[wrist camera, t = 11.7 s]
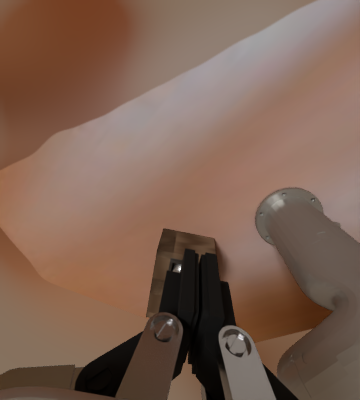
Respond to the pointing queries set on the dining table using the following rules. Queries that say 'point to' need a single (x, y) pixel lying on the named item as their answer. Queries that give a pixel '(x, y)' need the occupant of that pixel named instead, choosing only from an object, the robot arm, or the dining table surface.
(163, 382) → the robot arm
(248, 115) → the dining table surface
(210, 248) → the socket block
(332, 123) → the dining table surface
